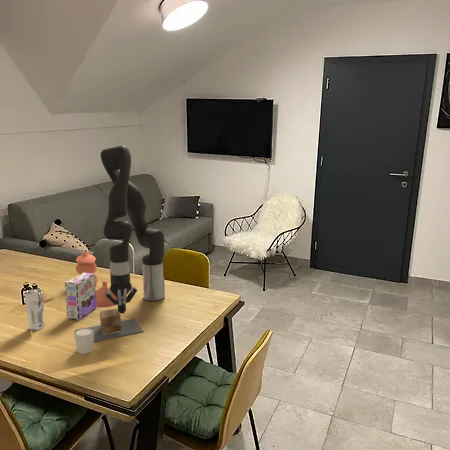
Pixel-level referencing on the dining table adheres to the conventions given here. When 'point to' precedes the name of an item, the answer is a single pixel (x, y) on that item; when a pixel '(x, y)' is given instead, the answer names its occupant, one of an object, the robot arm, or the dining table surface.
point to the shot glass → (84, 340)
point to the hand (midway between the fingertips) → (122, 312)
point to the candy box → (80, 296)
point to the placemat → (126, 329)
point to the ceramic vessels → (89, 266)
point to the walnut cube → (110, 321)
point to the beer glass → (35, 308)
